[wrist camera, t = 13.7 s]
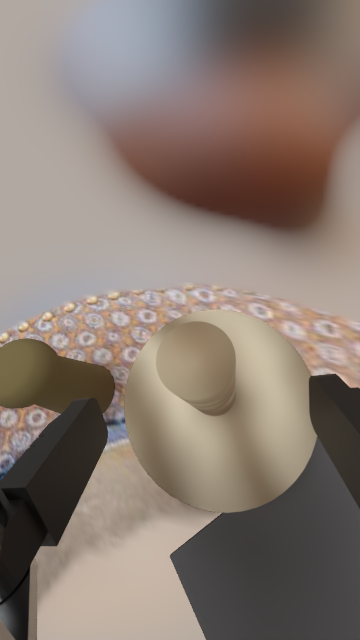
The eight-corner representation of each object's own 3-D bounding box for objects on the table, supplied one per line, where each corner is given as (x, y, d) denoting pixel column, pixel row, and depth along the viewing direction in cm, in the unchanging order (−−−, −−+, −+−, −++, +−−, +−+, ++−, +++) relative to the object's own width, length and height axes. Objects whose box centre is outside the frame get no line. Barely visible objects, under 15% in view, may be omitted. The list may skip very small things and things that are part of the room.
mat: (348, 955, 11) (351, 973, 10) (171, 554, 18) (169, 556, 18) (576, 711, 12) (586, 719, 12) (324, 431, 20) (326, 431, 19)
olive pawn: (107, 424, 24) (20, 417, 14) (57, 417, 25) (-52, 407, 16) (120, 366, 26) (54, 327, 17) (74, 363, 28) (-11, 326, 18)
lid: (191, 560, 14) (119, 773, 5) (104, 375, 21) (7, 331, 12) (361, 422, 15) (537, 405, 7) (228, 289, 22) (224, 190, 13)
